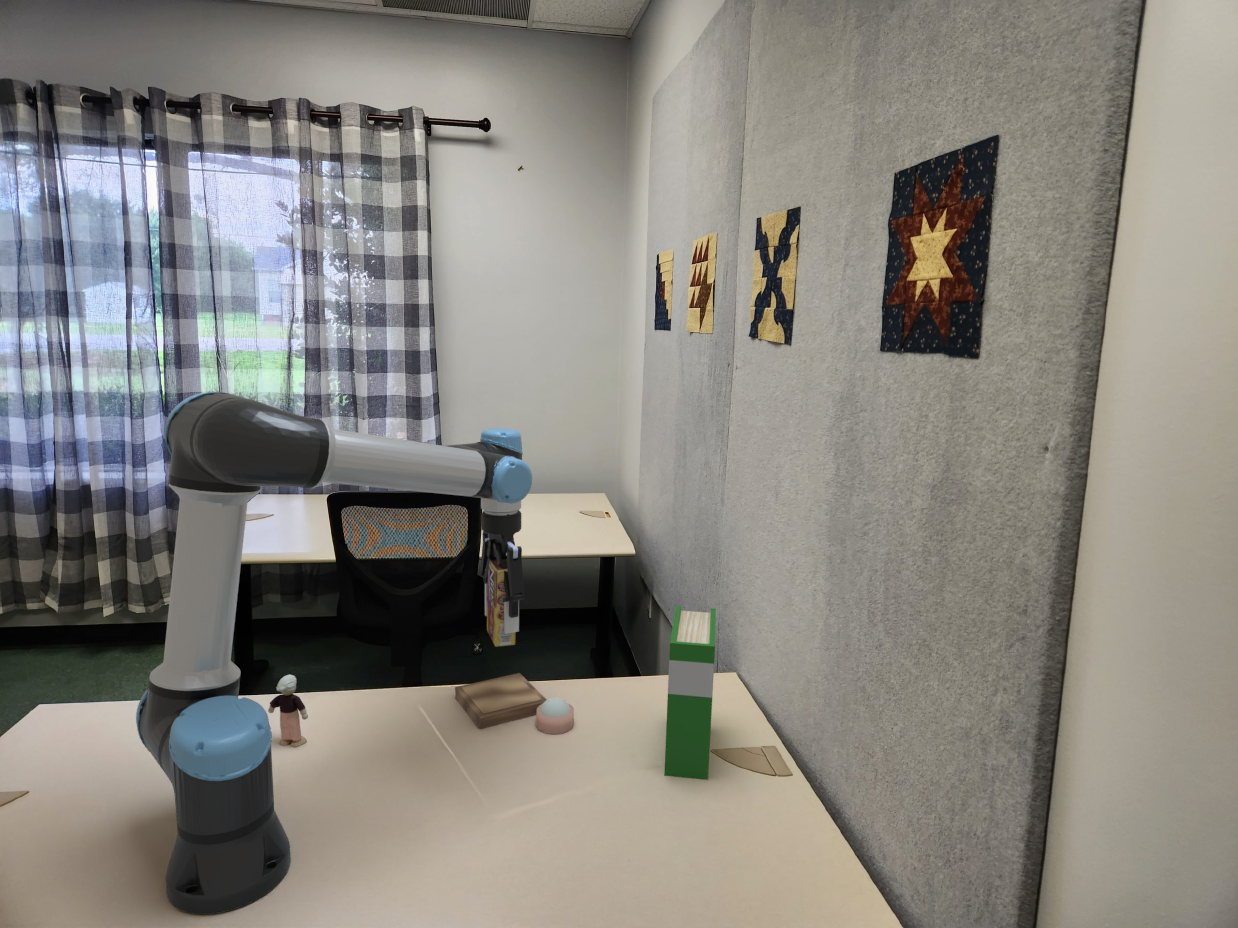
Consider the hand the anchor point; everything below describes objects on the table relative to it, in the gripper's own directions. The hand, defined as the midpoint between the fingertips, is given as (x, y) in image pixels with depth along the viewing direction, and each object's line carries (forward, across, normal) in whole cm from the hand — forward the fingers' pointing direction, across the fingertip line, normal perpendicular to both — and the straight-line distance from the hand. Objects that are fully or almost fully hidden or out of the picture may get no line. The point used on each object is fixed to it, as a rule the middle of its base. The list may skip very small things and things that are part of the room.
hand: (501, 622), depth 149 cm
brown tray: (+18, 0, 0) cm, 18 cm away
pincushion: (+17, -12, -6) cm, 22 cm away
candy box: (+3, 0, 0) cm, 3 cm away
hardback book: (+18, -30, -24) cm, 42 cm away
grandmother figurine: (+18, +6, +38) cm, 43 cm away
